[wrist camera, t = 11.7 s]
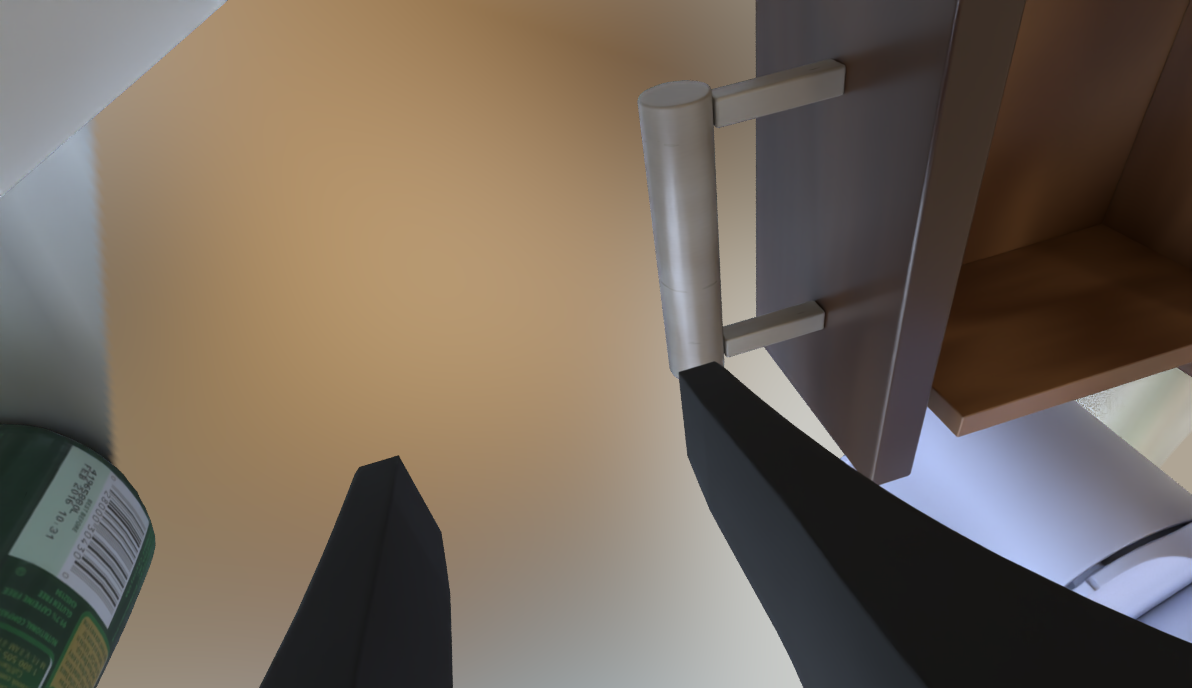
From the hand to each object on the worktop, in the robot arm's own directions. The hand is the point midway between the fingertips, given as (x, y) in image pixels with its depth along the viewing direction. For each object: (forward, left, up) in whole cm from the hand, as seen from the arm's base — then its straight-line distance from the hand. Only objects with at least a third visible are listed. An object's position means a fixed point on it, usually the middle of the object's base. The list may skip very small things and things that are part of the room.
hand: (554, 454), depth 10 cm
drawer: (+8, -8, -9) cm, 14 cm away
